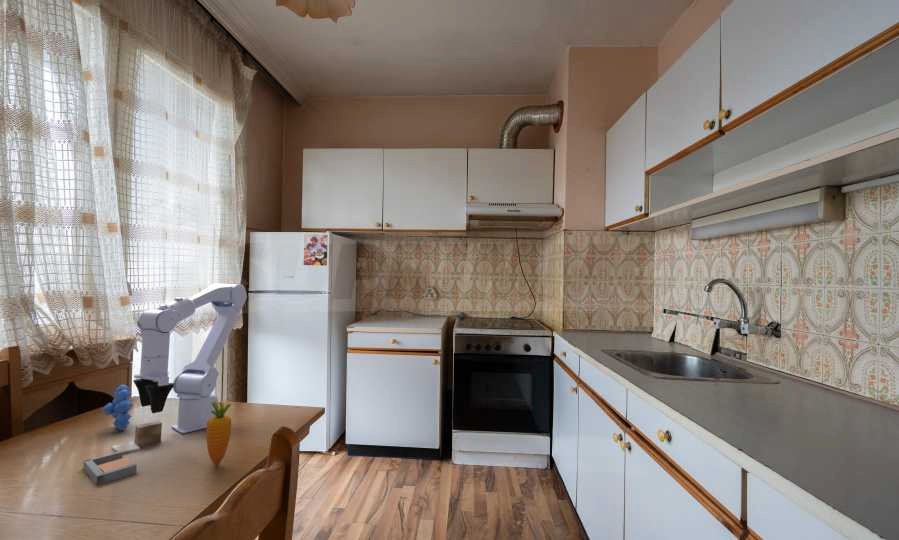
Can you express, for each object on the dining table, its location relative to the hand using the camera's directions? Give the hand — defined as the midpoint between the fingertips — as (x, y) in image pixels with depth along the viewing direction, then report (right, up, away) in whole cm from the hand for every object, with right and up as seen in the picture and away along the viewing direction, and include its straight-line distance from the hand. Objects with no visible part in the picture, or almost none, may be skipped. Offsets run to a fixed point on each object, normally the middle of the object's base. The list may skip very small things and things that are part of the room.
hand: (151, 408), depth 99 cm
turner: (-3, -9, -1) cm, 10 cm away
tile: (+2, -10, -13) cm, 16 cm away
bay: (+2, -9, -13) cm, 16 cm away
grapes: (-18, -9, +10) cm, 22 cm away
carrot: (+23, -10, -10) cm, 27 cm away
